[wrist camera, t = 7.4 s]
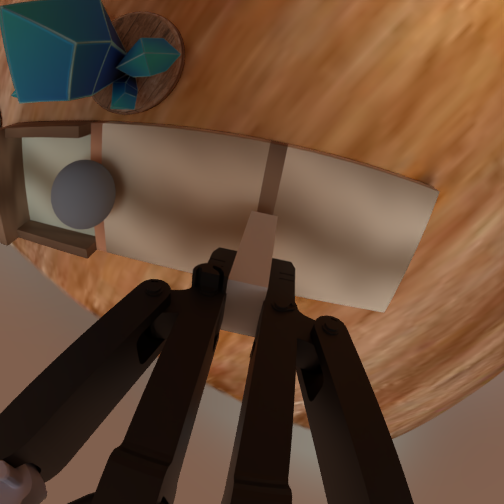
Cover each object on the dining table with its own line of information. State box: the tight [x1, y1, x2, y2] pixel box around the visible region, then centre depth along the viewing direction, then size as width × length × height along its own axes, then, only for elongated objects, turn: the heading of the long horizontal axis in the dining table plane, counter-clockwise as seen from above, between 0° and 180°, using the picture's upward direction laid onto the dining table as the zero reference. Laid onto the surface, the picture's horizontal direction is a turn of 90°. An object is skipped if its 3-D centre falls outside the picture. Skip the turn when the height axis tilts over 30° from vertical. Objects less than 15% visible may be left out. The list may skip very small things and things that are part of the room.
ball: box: [51, 160, 116, 229], centre depth 16 cm, size 4×4×4 cm
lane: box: [0, 121, 439, 312], centre depth 18 cm, size 10×33×4 cm, turn 80°
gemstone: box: [0, 0, 185, 115], centre depth 10 cm, size 7×9×12 cm
